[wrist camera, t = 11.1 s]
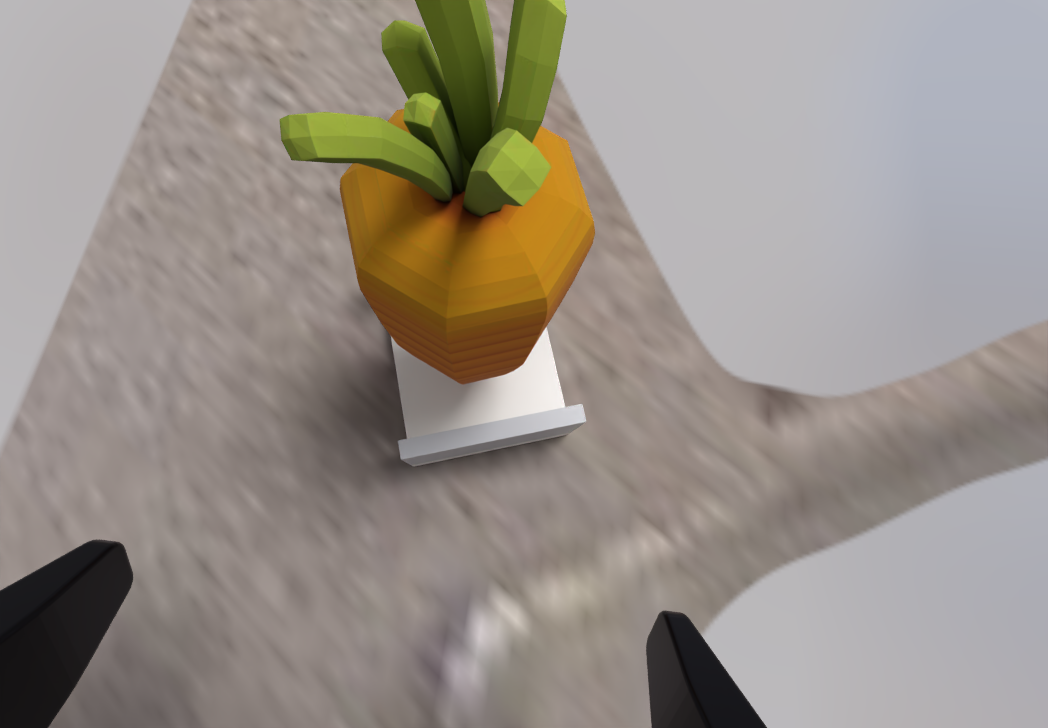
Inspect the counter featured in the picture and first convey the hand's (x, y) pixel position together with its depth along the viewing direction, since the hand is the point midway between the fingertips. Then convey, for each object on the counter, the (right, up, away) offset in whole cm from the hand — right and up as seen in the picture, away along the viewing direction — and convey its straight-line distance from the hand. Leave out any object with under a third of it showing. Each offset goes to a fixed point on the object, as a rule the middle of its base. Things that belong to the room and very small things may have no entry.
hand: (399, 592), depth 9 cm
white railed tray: (0, +4, +12) cm, 12 cm away
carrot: (0, +4, +11) cm, 12 cm away
